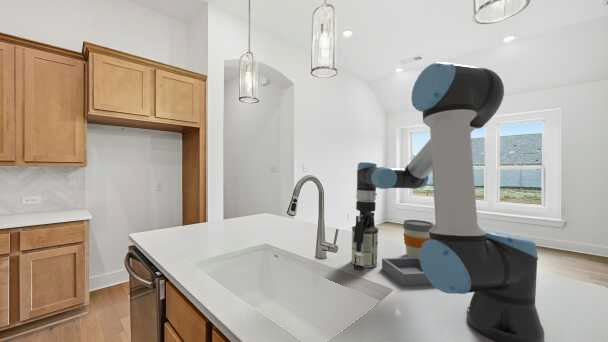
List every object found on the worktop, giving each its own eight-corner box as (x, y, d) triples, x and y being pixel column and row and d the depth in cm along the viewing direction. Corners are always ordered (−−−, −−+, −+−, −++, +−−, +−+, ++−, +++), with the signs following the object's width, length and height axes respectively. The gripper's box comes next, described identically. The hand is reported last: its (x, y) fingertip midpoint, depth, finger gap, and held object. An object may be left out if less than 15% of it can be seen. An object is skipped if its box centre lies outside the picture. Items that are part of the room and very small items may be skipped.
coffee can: (350, 258, 113) (351, 224, 112) (375, 259, 112) (376, 225, 111) (352, 266, 102) (353, 230, 102) (379, 268, 101) (380, 231, 101)
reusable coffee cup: (415, 262, 110) (417, 226, 110) (396, 252, 122) (397, 220, 122) (439, 259, 114) (440, 224, 114) (418, 250, 126) (419, 219, 126)
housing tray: (444, 283, 90) (444, 272, 90) (403, 286, 87) (404, 274, 87) (417, 267, 104) (417, 257, 104) (381, 268, 102) (382, 258, 102)
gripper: (364, 204, 95) (362, 266, 95) (383, 199, 114) (382, 251, 114) (345, 202, 100) (343, 261, 100) (367, 197, 118) (365, 247, 118)
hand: (364, 256), depth 107 cm, fingers closed on coffee can, 10 cm apart
